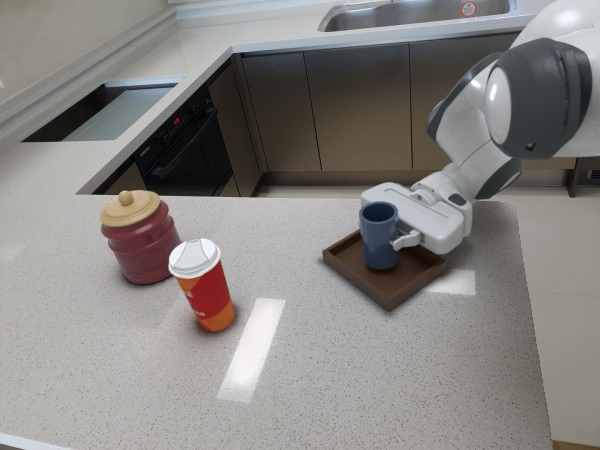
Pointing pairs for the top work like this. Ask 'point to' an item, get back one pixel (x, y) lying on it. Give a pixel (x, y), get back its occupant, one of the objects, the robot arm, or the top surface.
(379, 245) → the tumbler
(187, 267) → the coffee cup
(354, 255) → the tray
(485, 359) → the top surface
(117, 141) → the top surface
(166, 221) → the kitchen canister
